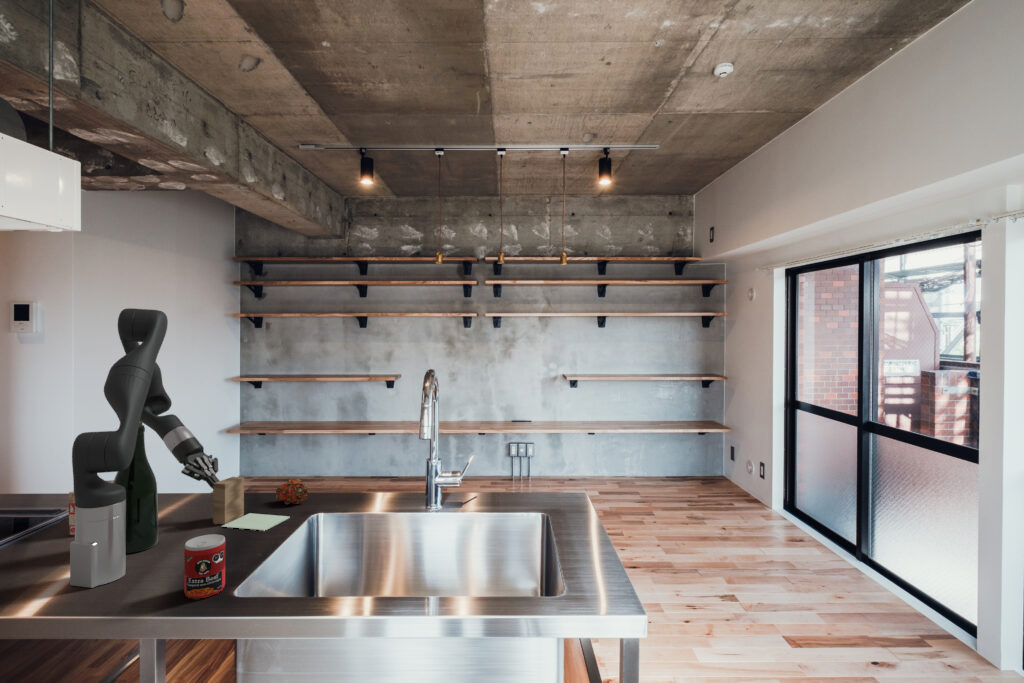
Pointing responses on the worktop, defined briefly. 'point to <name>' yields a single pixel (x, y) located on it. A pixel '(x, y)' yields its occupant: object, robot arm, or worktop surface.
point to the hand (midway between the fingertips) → (217, 486)
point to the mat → (256, 521)
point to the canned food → (204, 566)
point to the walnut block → (228, 500)
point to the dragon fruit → (292, 487)
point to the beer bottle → (140, 499)
